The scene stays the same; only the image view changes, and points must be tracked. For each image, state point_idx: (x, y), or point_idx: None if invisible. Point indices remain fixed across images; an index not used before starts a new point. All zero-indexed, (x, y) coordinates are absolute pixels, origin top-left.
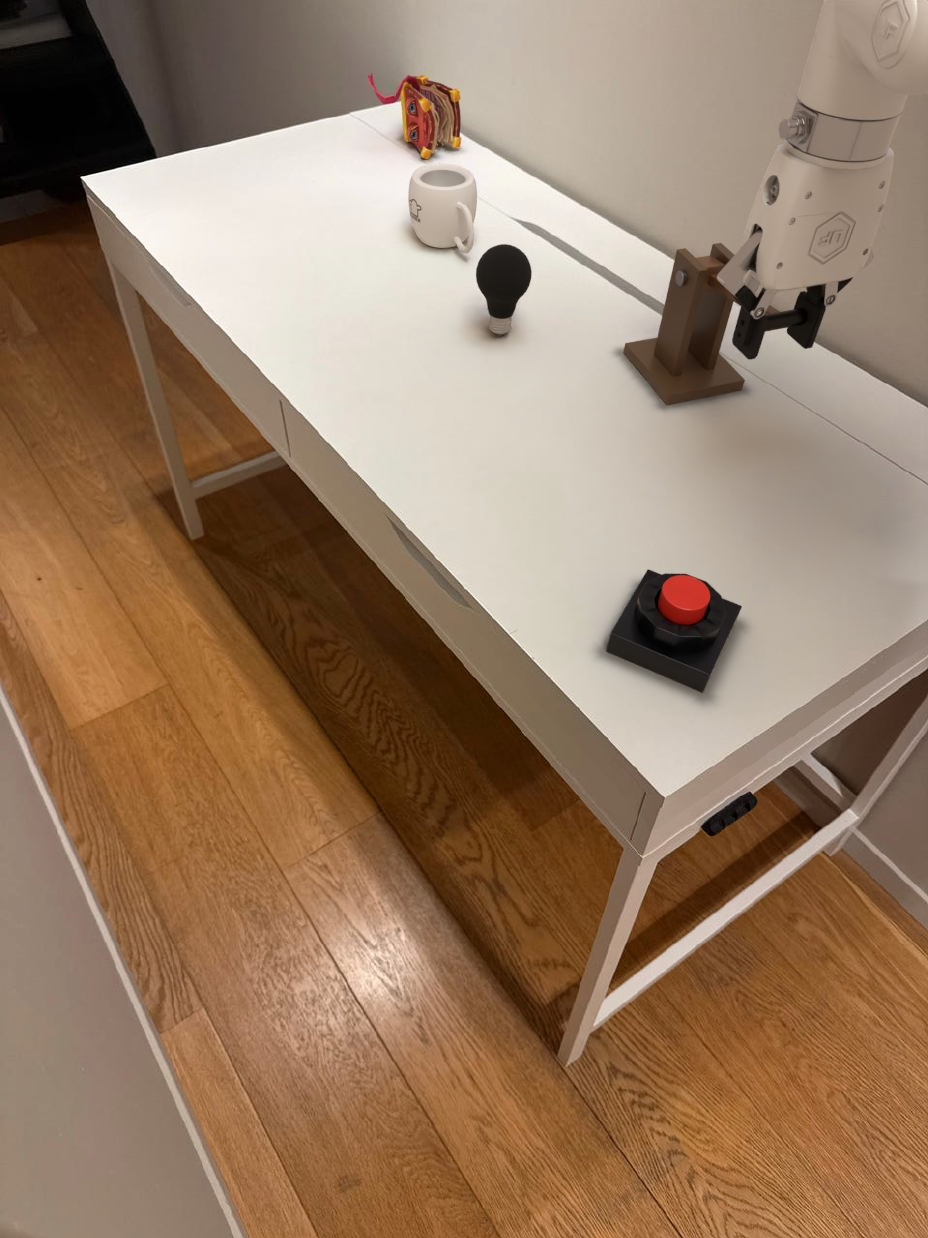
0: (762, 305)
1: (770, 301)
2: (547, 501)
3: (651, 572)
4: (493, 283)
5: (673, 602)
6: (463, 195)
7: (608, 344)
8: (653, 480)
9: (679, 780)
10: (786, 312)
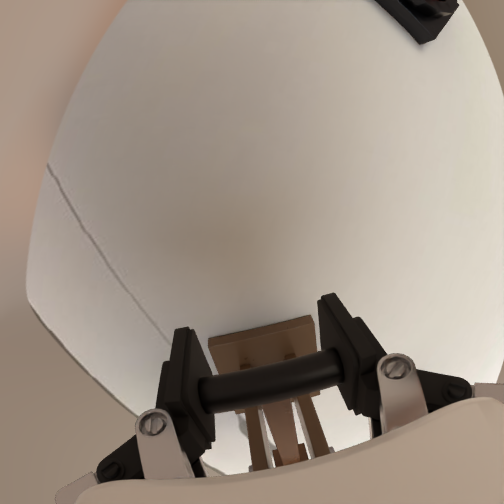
0: (402, 383)
1: (383, 399)
2: (463, 173)
3: (432, 34)
4: None
5: None
6: None
7: (324, 395)
8: (376, 182)
9: None
10: (258, 400)
